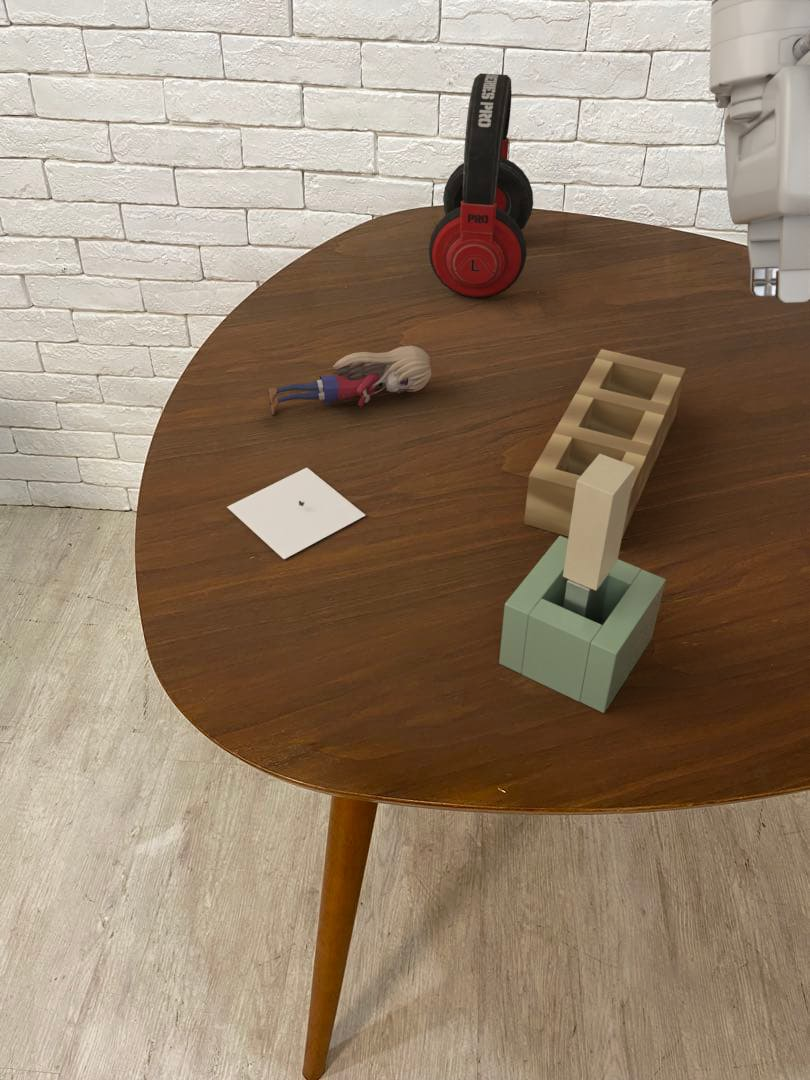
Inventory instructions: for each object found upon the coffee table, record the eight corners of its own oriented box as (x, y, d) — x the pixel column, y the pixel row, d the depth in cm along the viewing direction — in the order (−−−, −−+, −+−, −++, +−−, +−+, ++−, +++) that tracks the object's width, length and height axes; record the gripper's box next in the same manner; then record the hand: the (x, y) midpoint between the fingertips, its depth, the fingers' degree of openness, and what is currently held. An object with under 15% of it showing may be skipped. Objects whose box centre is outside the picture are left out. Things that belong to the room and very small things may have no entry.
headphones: (520, 313, 107) (538, 116, 94) (424, 305, 109) (428, 109, 95) (530, 235, 120) (547, 51, 107) (444, 228, 121) (450, 46, 108)
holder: (652, 638, 74) (666, 578, 70) (603, 714, 70) (616, 654, 66) (551, 594, 78) (559, 534, 74) (498, 663, 73) (504, 603, 69)
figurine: (271, 402, 90) (439, 370, 92) (261, 358, 91) (428, 328, 93) (274, 431, 96) (434, 400, 98) (265, 389, 97) (423, 360, 99)
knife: (602, 642, 74) (637, 464, 63) (580, 674, 72) (612, 496, 61) (572, 628, 75) (601, 451, 64) (549, 660, 73) (574, 482, 62)
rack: (594, 395, 97) (601, 348, 93) (675, 415, 94) (685, 368, 91) (523, 524, 84) (528, 475, 80) (616, 550, 81) (626, 501, 78)
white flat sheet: (226, 507, 85) (225, 499, 84) (306, 467, 89) (306, 460, 88) (283, 559, 80) (283, 552, 80) (365, 515, 84) (365, 507, 83)
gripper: (898, 8, 50) (878, 304, 54) (810, 77, 70) (800, 291, 73) (761, 20, 51) (750, 309, 55) (712, 84, 71) (706, 295, 74)
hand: (778, 298), depth 64 cm, fingers open, 8 cm apart
